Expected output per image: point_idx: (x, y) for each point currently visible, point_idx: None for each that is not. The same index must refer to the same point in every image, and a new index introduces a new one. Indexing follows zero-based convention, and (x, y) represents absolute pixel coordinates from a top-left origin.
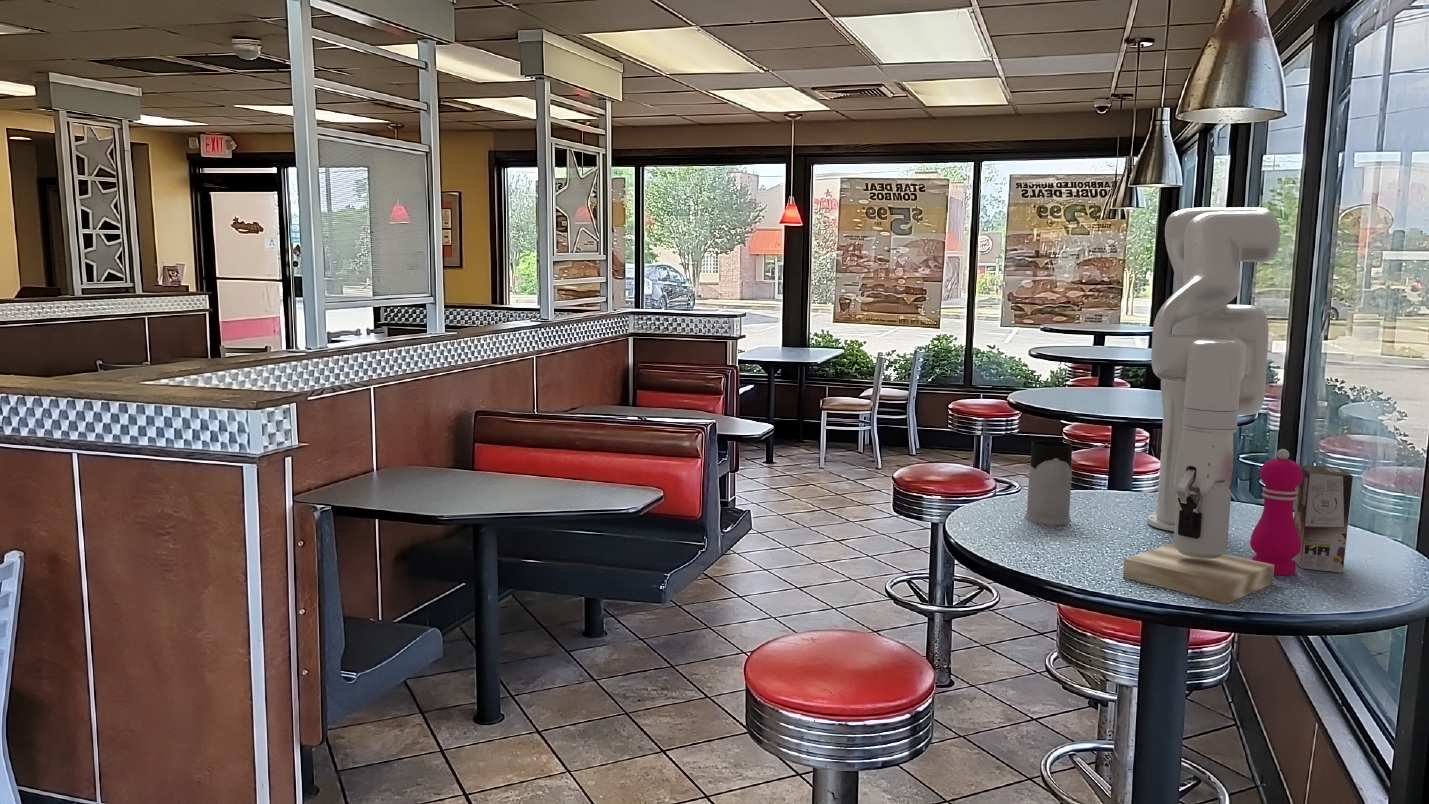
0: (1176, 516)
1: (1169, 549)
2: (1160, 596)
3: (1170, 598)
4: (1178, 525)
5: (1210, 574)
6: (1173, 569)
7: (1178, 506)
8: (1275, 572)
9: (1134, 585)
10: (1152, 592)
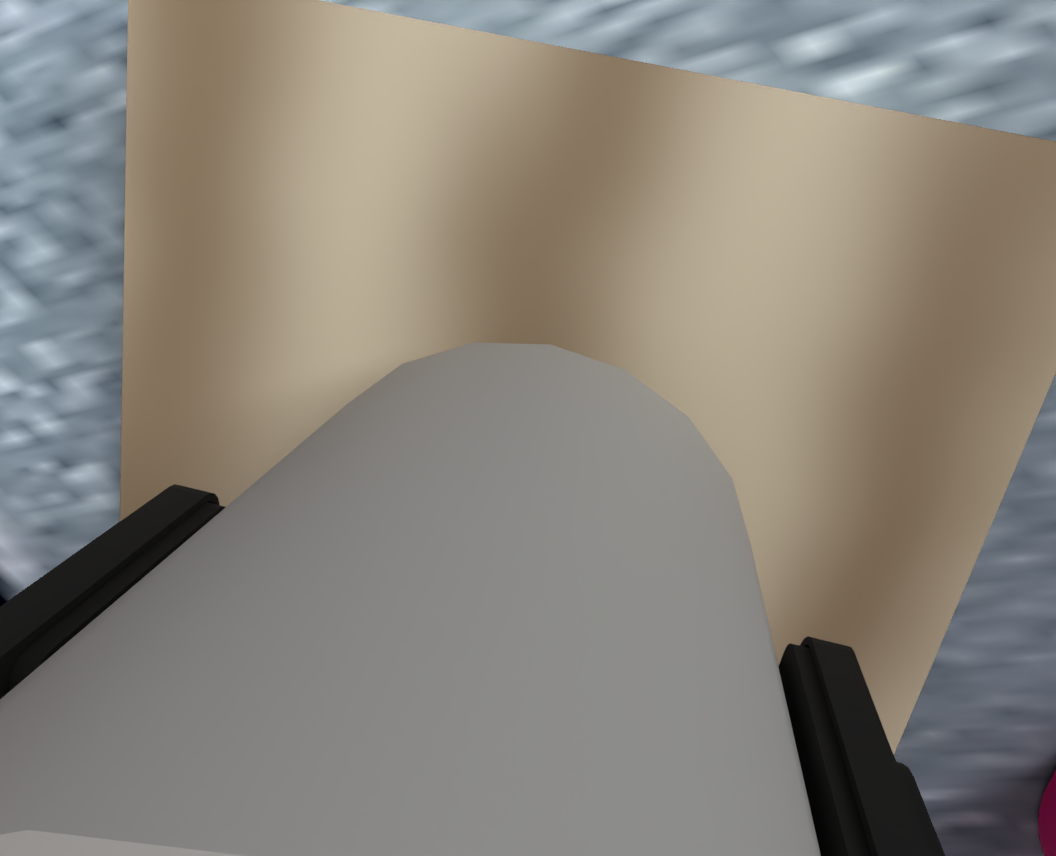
0: (251, 493)
1: (812, 212)
2: (9, 348)
3: (20, 405)
4: (121, 523)
5: None
6: (139, 407)
7: (126, 600)
8: (1043, 844)
9: (98, 138)
10: (46, 286)
